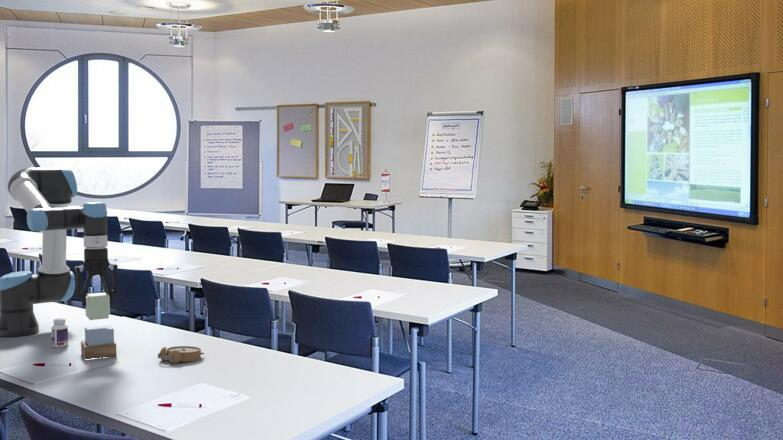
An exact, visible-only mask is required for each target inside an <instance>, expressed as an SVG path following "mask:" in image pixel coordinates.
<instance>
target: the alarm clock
mask: <svg viewBox="0 0 783 440" xmlns="http://www.w3.org/2000/svg"><path fill="white" fill-rule="evenodd" d="M202 355H205V352H202V349H201V347H197V346H192V345H191V346H187V345H179V346H177V345H175V346H171V347H168V348H167V346H163V347H162V348H160V351H159V353H157V358H158V359H160V360H161V361H162V362H166V360H168V362H169V363H170V364H172V365H177V364H178V365H179V363H180V362H181V363H182V362H183V363H184V362H185V363H188V362H195V361H200V359H201V356H202Z"/></svg>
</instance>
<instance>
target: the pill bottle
mask: <svg viewBox="0 0 783 440" xmlns="http://www.w3.org/2000/svg"><path fill="white" fill-rule="evenodd" d="M52 321H53V325H52V326H51V328H50V329H51V346H52V348H65V347H68V345H69V331H68V330H69V329H68V327H69V326H68V325H67V324H66V318H61V317H60V318H53V320H52Z"/></svg>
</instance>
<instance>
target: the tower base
mask: <svg viewBox="0 0 783 440" xmlns="http://www.w3.org/2000/svg"><path fill="white" fill-rule="evenodd" d="M80 348H81V349H80V351H81V353H82V354H81V356H82V355H83V356H82V358H83V357H84V358H85V359H91V358H100V357H101V358H103V357H111V358H110V359H112V358H117V342H116V341H115V340H114V343H111V344H103V345H95V346H89V345H88V344H87V343H86V342H85V339H84V340H80ZM84 358H83V359H84Z"/></svg>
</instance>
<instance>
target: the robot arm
mask: <svg viewBox="0 0 783 440" xmlns="http://www.w3.org/2000/svg"><path fill="white" fill-rule="evenodd" d="M77 185H78V184H77V180H76V176H75V174H74V172H73V170H72V169H71V168H69V167H60V166H50V167H49V166H48V167H47V166H45V167H41V166H40V167H35V166H34V167H33V166H32V167H25V168H22V169H20V170H17V171H16V172H15V173H13V174H12V175H11V177H10V178H9V179H8V183H7V191H8V193H9V195H10V196H11V199H14V200H15V201H17V202H19V204H20V205H21V206H22V207H23V209H24V210H25V212H26V213H27V214H26V224H27V226H28V227H27V228H29V230H30V231H33V232H42V256H41V258H42V259H41V265H40V266H39V267H38V268H37V273H34V274H33V272H32V271H31V270H23V271H16V272H10V273H7V274H4V275H3V276H1V277H0V337H3V338H4V337H6V338H8V337H10V338H11V337H22V336H28V335H29V336H30V335H32V334H36V333H38V332H39V331H40V327H39V326H40V324H39V322H38V319H37V318H36V316H35V312H34V305H38V304H46V303H56V302H57V303H59V302H63V301H68V300H70V299H71V298H72V296H73V294H74V292H75V295H76V296H77V297H80V298H81V306H82V307H83V308H85V309H84V310H85V316H86V317H87V318H88V317H89V298H88V297H87V294H88V292H89V287H90V285H91V281H92V278H93V276H97V275H98V276H101V278H102V280H103V281H102V282H103V283H104V286H105V288H106V292H107V295H108V311H109V315H110V314H111V305H113V304H114V298H113V297H114V295H115V294H118V293H119V286H118V285H119V283H118V273H117V271H118V264H116V263H111V262H110V261H109V249H108V248H107V247H108V211H107V204H106V202H103V201H102V202H100V201H88V202H84V203H83V204H82V206H73V207H71V206H70V207H68V206H69V205H70V204H72V198H76V197H77V195H78V186H77ZM78 229H80V230H81V229H83V247H84V249H83V257H84V259H83V260H84V261H83V263H82V264H81V265H79V266H78V265H75V266H74V270H75V273H76V275H75V274H74V272H73V271H71V268H70V266H68V265H67V230H78ZM83 269H84V270H85V271H86V272H87V274H86V278H85V281H84V285H83V289H82V287H81V286H82V273H83ZM108 269H110V270H111V279H112V286H111V285H110V281H109V279H108V277H107V274H106V271H107V270H108ZM75 276H76V277H75ZM112 288H113V289H112ZM81 289H82V291H81Z"/></svg>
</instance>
